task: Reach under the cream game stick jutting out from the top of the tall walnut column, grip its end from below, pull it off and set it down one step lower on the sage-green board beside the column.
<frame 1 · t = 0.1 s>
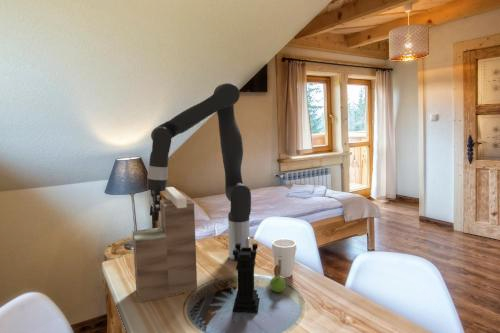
hand: (153, 218, 138), 22 cm above the table, tool pointing down, fingers open, 8 cm apart
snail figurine: (278, 291, 124), on the table
foam cup: (284, 275, 137), on the table
chess piece: (246, 306, 114), on the table
stepped stand: (166, 290, 126), on the table
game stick: (175, 200, 125), point 32 cm above the table, touching stepped stand
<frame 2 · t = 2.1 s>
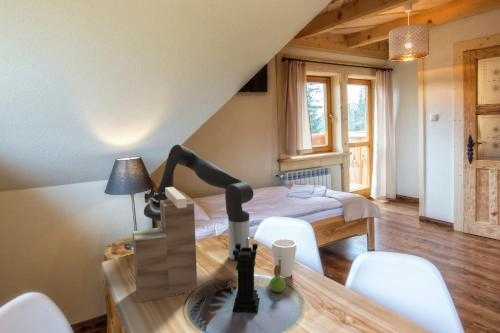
hand: (163, 191, 147), 31 cm above the table, tool pointing upward, fingers open, 8 cm apart
nothing on the table moved.
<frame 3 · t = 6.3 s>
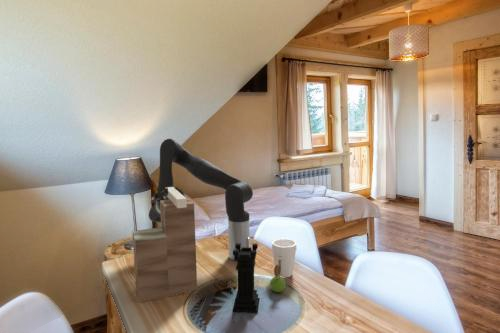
hand: (171, 189, 130), 35 cm above the table, tool pointing upward, fingers closed on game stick, 3 cm apart
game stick: (175, 200, 125), point 32 cm above the table, touching gripper, stepped stand
everything else where it was.
when the fingers open (26 cm above the table, at t = 14.2 s): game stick drops 1 cm, resting on stepped stand.
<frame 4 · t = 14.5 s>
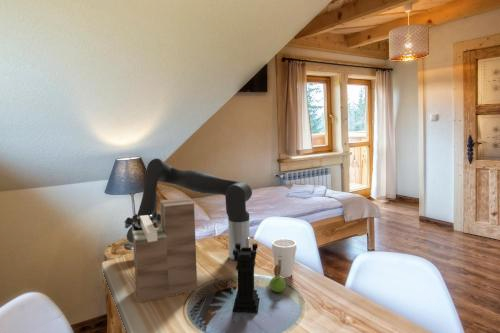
hand: (145, 215, 127), 26 cm above the table, tool pointing upward, fingers open, 6 cm apart
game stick: (148, 231, 123), point 22 cm above the table, touching stepped stand
everything else where it was.
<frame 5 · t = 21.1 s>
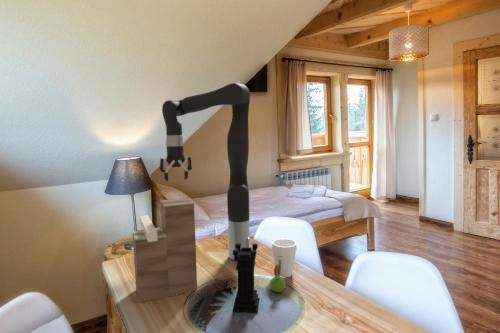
hand: (176, 179, 161), 33 cm above the table, tool pointing down, fingers open, 8 cm apart
nothing on the table moved.
at the end: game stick 0.1 cm from the target spot, point 22.0 cm above the table; the gripper is holding nothing; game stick tilted 0° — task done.
